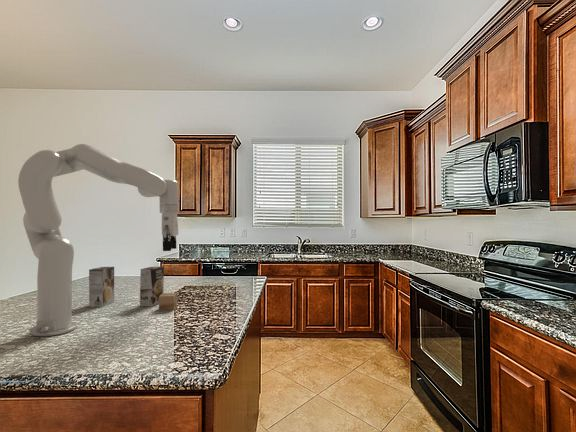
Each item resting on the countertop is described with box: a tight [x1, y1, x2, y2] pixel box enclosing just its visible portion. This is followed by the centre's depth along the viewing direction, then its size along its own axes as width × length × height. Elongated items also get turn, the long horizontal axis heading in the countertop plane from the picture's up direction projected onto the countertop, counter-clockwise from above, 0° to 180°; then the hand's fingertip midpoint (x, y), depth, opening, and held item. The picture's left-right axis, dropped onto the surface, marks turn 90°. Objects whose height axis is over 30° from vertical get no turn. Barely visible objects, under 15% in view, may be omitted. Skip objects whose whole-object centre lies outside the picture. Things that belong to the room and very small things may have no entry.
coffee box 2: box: [139, 266, 165, 308], centre depth 148 cm, size 9×6×16 cm
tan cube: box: [158, 292, 178, 312], centre depth 140 cm, size 6×6×6 cm
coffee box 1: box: [88, 266, 115, 308], centre depth 148 cm, size 9×6×16 cm
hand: (169, 249), depth 141 cm, fingers open, 9 cm apart
